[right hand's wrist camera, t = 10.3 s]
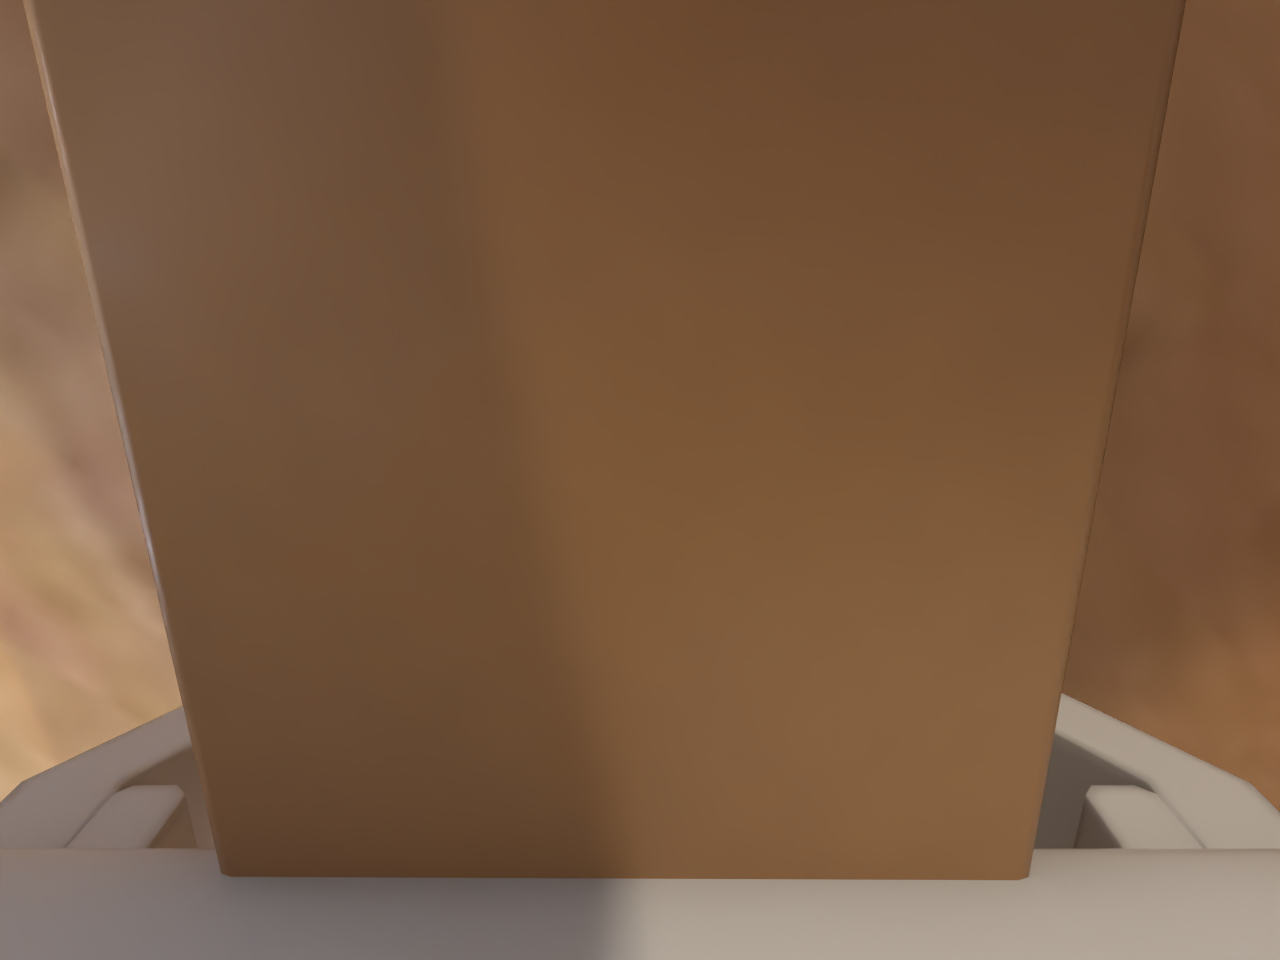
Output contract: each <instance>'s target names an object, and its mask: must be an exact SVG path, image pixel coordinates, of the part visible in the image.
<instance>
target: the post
mask: <svg viewBox="0 0 1280 960" xmlns="http://www.w3.org/2000/svg"><path fill="white" fill-rule="evenodd" d="M1185 2H1186V0H23V4H24V8H25V13H26V17H27V21H28V26H29V30H30V35H31V39H32V43H33V48H34V52H35V57H36V61H37V65H38V70H39V74H40V79H41V83H42V87H43V92H44V96H45V101H46V105H47V109H48V114H49V118H50V123H51V127H52V131H53V136H54V140H55V145H56V149H57V153H58V158H59V162H60V167H61V171H62V175H63V180H64V184H65V189H66V193H67V197H68V202H69V206H70V211H71V215H72V220H73V224H74V228H75V233H76V237H77V242H78V246H79V250H80V255H81V259H82V264H83V268H84V272H85V277H86V281H87V286H88V290H89V294H90V299H91V303H92V308H93V312H94V316H95V321H96V325H97V330H98V334H99V338H100V343H101V347H102V352H103V356H104V360H105V365H106V369H107V374H108V378H109V382H110V387H111V391H112V396H113V400H114V404H115V409H116V413H117V418H118V422H119V426H120V431H121V435H122V440H123V444H124V448H125V453H126V457H127V462H128V466H129V470H130V475H131V479H132V484H133V488H134V492H135V497H136V501H137V506H138V510H139V514H140V519H141V523H142V528H143V532H144V536H145V541H146V545H147V550H148V554H149V558H150V563H151V567H152V572H153V576H154V580H155V585H156V589H157V594H158V598H159V602H160V607H161V611H162V616H163V620H164V624H165V629H166V633H167V638H168V642H169V646H170V651H171V655H172V660H173V664H174V668H175V673H176V677H177V682H178V686H179V690H180V695H181V699H182V704H183V708H184V712H185V717H186V721H187V726H188V730H189V734H190V739H191V743H192V748H193V752H194V756H195V761H196V765H197V770H198V774H199V778H200V783H201V787H202V792H203V796H204V800H205V805H206V809H207V814H208V818H209V822H210V827H211V831H212V836H213V840H214V844H215V849H216V853H217V858H218V862H219V866H220V871H221V874H224V875H227V876H230V877H375V878H604V879H836V880H1021V879H1024V878H1027V877H1029V872H1030V866H1031V861H1032V855H1033V850H1034V844H1035V838H1036V833H1037V827H1038V822H1039V816H1040V811H1041V805H1042V799H1043V794H1044V788H1045V783H1046V777H1047V772H1048V766H1049V760H1050V755H1051V749H1052V744H1053V738H1054V733H1055V727H1056V721H1057V716H1058V710H1059V705H1060V699H1061V694H1062V688H1063V682H1064V677H1065V671H1066V666H1067V660H1068V654H1069V649H1070V643H1071V638H1072V632H1073V627H1074V621H1075V615H1076V610H1077V604H1078V599H1079V593H1080V588H1081V582H1082V576H1083V571H1084V565H1085V560H1086V554H1087V549H1088V543H1089V537H1090V532H1091V526H1092V521H1093V515H1094V510H1095V504H1096V498H1097V493H1098V487H1099V482H1100V476H1101V471H1102V465H1103V459H1104V454H1105V448H1106V443H1107V437H1108V432H1109V426H1110V420H1111V415H1112V409H1113V404H1114V398H1115V393H1116V387H1117V381H1118V376H1119V370H1120V365H1121V359H1122V353H1123V348H1124V342H1125V337H1126V331H1127V326H1128V320H1129V314H1130V309H1131V303H1132V298H1133V292H1134V287H1135V281H1136V275H1137V270H1138V264H1139V259H1140V253H1141V248H1142V242H1143V236H1144V231H1145V225H1146V220H1147V214H1148V209H1149V203H1150V197H1151V192H1152V186H1153V181H1154V175H1155V170H1156V164H1157V158H1158V153H1159V147H1160V142H1161V136H1162V130H1163V125H1164V119H1165V114H1166V108H1167V103H1168V97H1169V91H1170V86H1171V80H1172V75H1173V69H1174V64H1175V58H1176V52H1177V47H1178V41H1179V36H1180V30H1181V25H1182V19H1183V13H1184V8H1185Z"/></svg>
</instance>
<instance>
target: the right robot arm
mask: <svg viewBox="0 0 1280 960" xmlns="http://www.w3.org/2000/svg"><path fill="white" fill-rule="evenodd" d="M0 960H1280V812H1279V811H1278V810H1277V809H1276V808H1275V807H1274V806H1273V805H1272V804H1271V803H1270V802H1269V801H1268V800H1267V799H1266V798H1265V797H1264V796H1263V795H1262V794H1261V793H1260V792H1259V791H1258V790H1257V789H1256V788H1255V787H1254V786H1253V785H1252V784H1251V783H1249V782H1247V781H1245V780H1243V779H1241V778H1239V777H1237V776H1235V775H1232V774H1230V773H1228V772H1226V771H1224V770H1222V769H1220V768H1218V767H1216V766H1214V765H1212V764H1209V763H1207V762H1205V761H1203V760H1201V759H1199V758H1197V757H1195V756H1193V755H1191V754H1189V753H1186V752H1184V751H1182V750H1180V749H1178V748H1176V747H1174V746H1172V745H1170V744H1168V743H1166V742H1163V741H1161V740H1159V739H1157V738H1155V737H1153V736H1151V735H1149V734H1147V733H1145V732H1143V731H1140V730H1138V729H1136V728H1134V727H1132V726H1130V725H1128V724H1126V723H1124V722H1122V721H1120V720H1117V719H1115V718H1113V717H1111V716H1109V715H1107V714H1105V713H1103V712H1101V711H1099V710H1097V709H1094V708H1092V707H1090V706H1088V705H1086V704H1084V703H1082V702H1080V701H1078V700H1076V699H1074V698H1071V697H1069V696H1067V695H1065V694H1063V693H1062V694H1061V699H1060V705H1059V710H1058V716H1057V721H1056V727H1055V733H1054V738H1053V744H1052V749H1051V755H1050V760H1049V766H1048V772H1047V777H1046V783H1045V788H1044V794H1043V799H1042V805H1041V811H1040V816H1039V822H1038V827H1037V833H1036V838H1035V844H1034V850H1033V855H1032V861H1031V866H1030V872H1029V877H1027V878H1024V879H1021V880H836V879H604V878H375V877H230V876H227V875H224V874H221V871H220V866H219V862H218V858H217V853H216V849H215V844H214V840H213V836H212V831H211V827H210V822H209V818H208V814H207V809H206V805H205V800H204V796H203V792H202V787H201V783H200V778H199V774H198V770H197V765H196V761H195V756H194V752H193V748H192V743H191V739H190V734H189V730H188V726H187V721H186V717H185V712H184V708H183V706H181V707H179V708H177V709H175V710H173V711H171V712H169V713H166V714H164V715H162V716H160V717H158V718H156V719H154V720H152V721H150V722H147V723H145V724H143V725H141V726H139V727H137V728H135V729H133V730H130V731H128V732H126V733H124V734H122V735H120V736H118V737H116V738H114V739H111V740H109V741H107V742H105V743H103V744H101V745H99V746H97V747H95V748H92V749H90V750H88V751H86V752H84V753H82V754H80V755H78V756H75V757H73V758H71V759H69V760H67V761H65V762H63V763H61V764H59V765H56V766H54V767H52V768H50V769H48V770H46V771H44V772H42V773H39V774H37V775H35V776H33V777H31V778H29V779H27V780H25V781H23V782H21V783H20V784H19V785H18V786H17V787H16V788H15V789H14V790H13V791H12V792H11V793H10V794H9V795H8V796H7V797H6V798H5V799H4V800H3V801H2V802H0Z"/></svg>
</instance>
